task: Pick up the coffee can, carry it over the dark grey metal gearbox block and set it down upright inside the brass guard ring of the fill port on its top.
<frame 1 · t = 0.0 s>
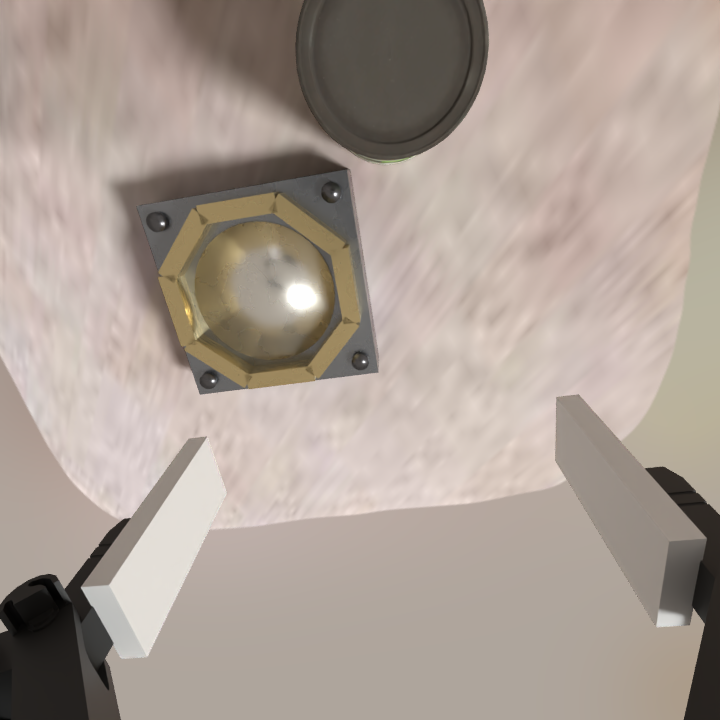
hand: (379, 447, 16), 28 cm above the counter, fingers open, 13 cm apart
coffee can: (387, 97, 36), on the counter
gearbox: (275, 284, 43), on the counter
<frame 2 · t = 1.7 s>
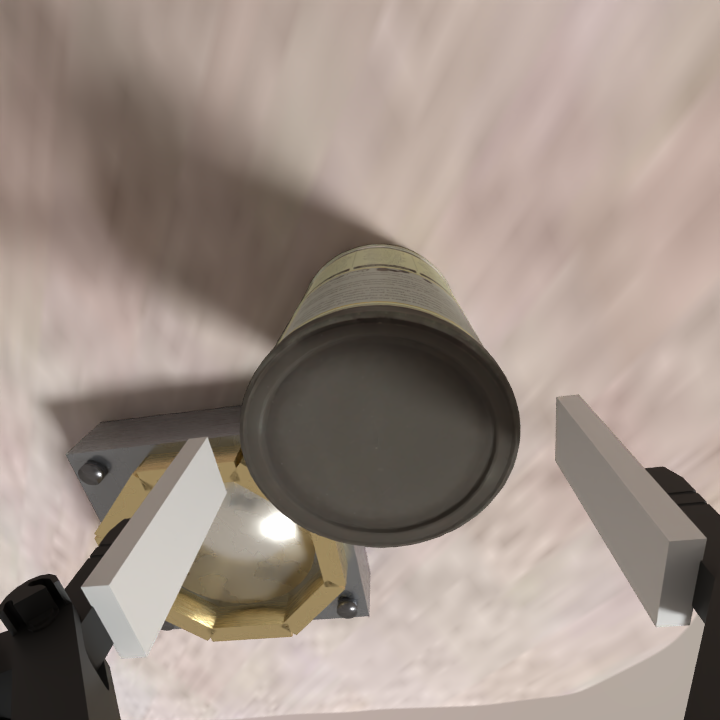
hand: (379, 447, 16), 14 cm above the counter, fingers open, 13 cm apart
coffee can: (378, 320, 29), on the counter
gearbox: (245, 503, 36), on the counter
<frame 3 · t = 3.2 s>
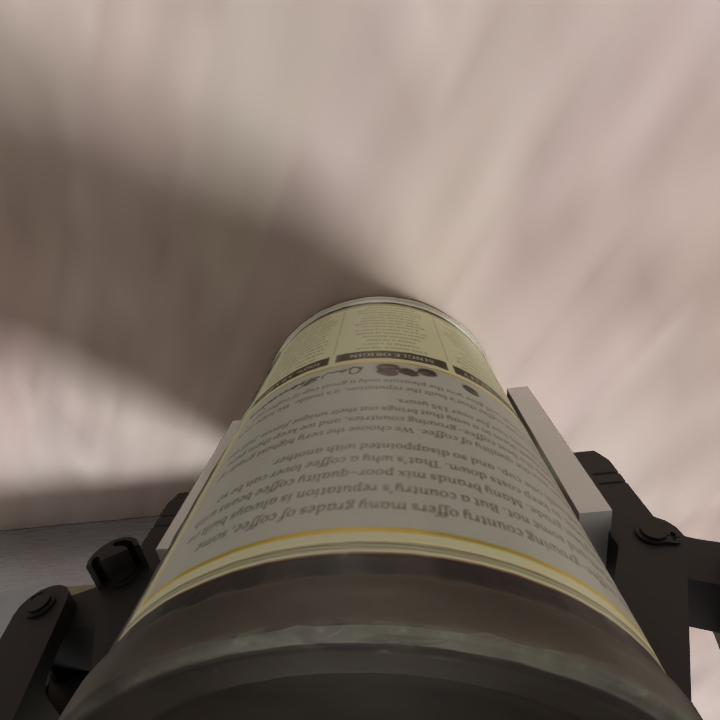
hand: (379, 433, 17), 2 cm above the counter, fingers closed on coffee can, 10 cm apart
coffee can: (380, 402, 20), on the counter, touching gripper
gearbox: (197, 632, 26), on the counter
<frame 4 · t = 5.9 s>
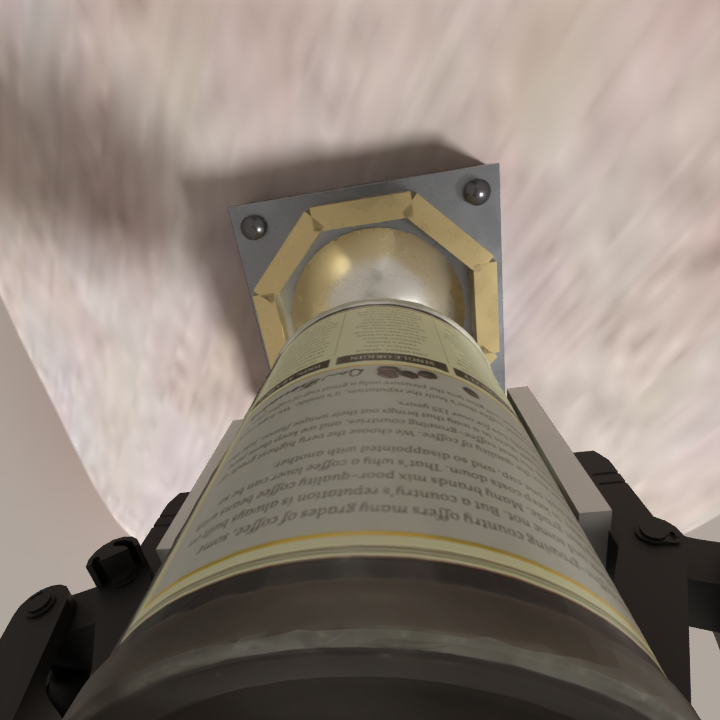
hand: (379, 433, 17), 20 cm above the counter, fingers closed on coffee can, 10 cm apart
coffee can: (380, 404, 20), point 17 cm above the counter, touching gripper
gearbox: (378, 301, 36), on the counter
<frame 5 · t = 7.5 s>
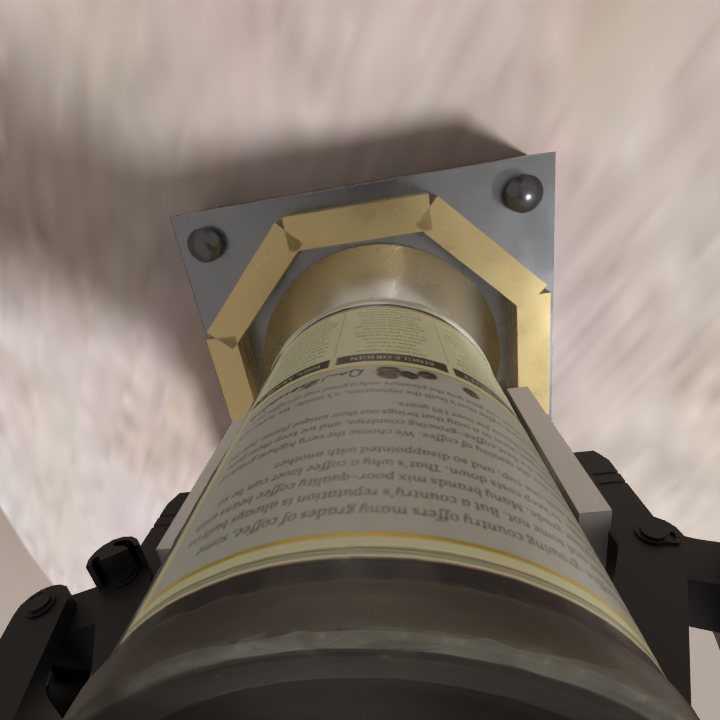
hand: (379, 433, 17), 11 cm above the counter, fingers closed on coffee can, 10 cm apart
coffee can: (380, 404, 20), point 8 cm above the counter, touching gripper
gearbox: (380, 337, 27), on the counter
when the fingers open (8 cm above the counter, at t = 8.6 s): coffee can drops 2 cm, resting on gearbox.
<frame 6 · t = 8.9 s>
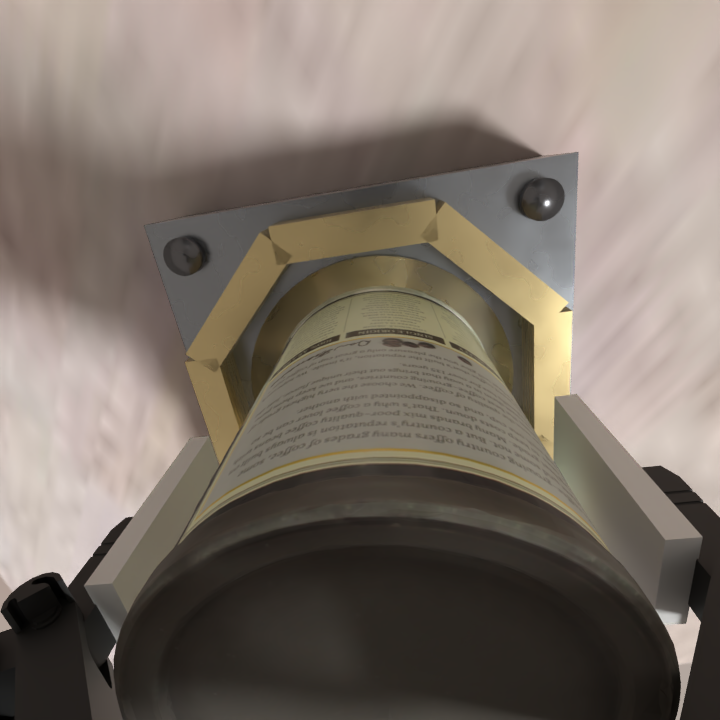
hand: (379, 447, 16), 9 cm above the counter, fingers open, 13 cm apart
coffee can: (383, 385, 21), point 4 cm above the counter, touching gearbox
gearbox: (380, 354, 25), on the counter
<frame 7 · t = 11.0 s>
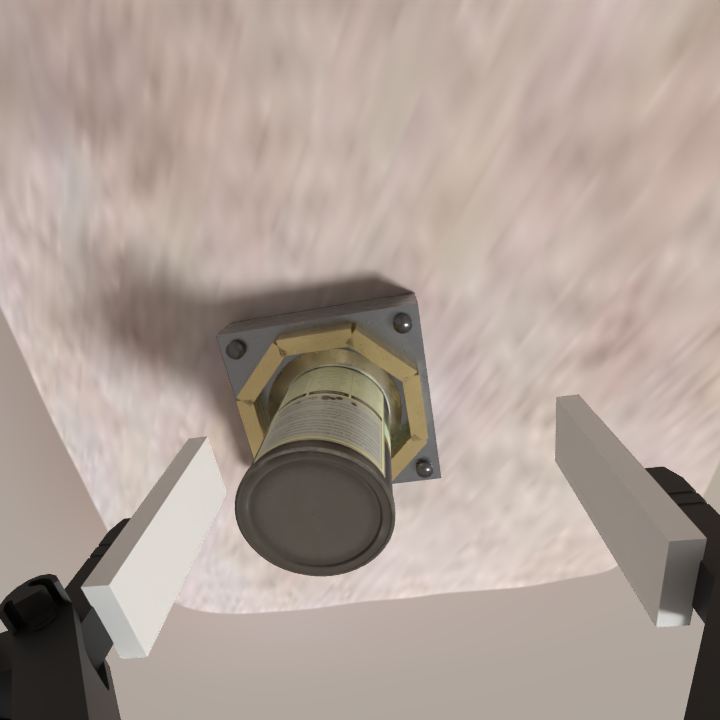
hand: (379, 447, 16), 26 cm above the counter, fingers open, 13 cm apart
coffee can: (336, 410, 41), point 4 cm above the counter, touching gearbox
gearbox: (338, 392, 45), on the counter
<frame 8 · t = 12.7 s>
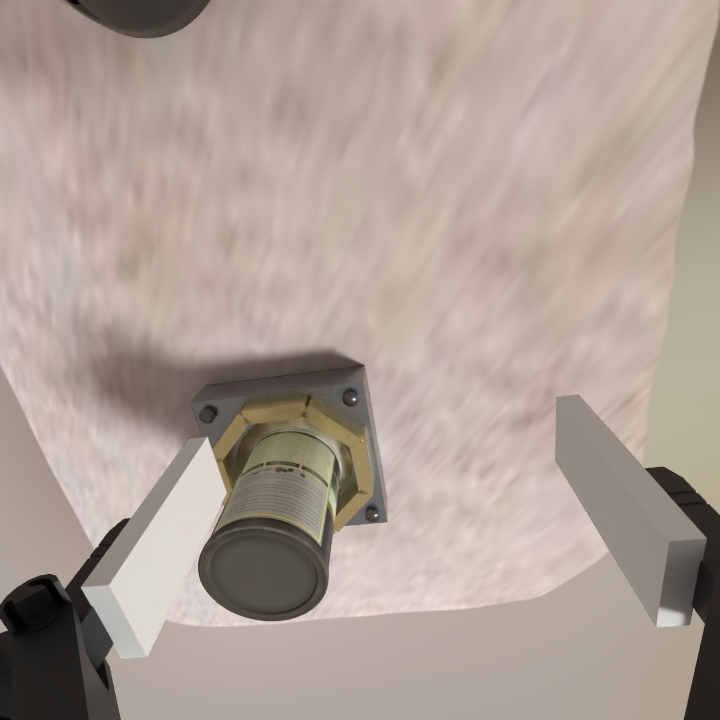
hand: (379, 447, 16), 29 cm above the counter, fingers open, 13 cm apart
coffee can: (295, 465, 47), point 4 cm above the counter, touching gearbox
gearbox: (300, 444, 51), on the counter
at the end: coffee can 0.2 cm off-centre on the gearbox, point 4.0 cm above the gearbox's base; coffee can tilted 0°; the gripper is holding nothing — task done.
